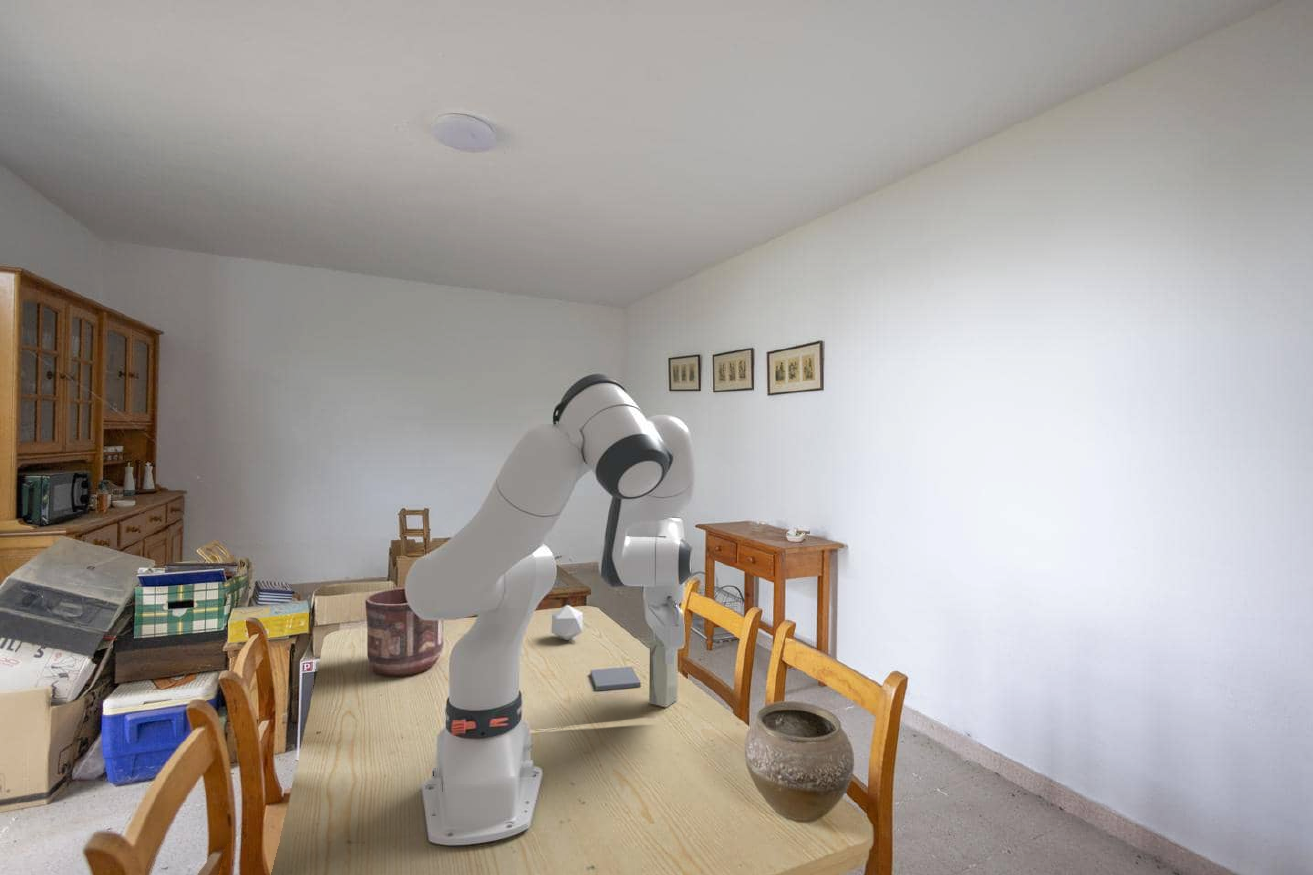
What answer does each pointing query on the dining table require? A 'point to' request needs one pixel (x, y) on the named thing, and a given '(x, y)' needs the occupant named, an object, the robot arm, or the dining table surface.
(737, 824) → the dining table surface
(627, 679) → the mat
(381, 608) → the pottery
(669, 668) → the box
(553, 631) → the die
